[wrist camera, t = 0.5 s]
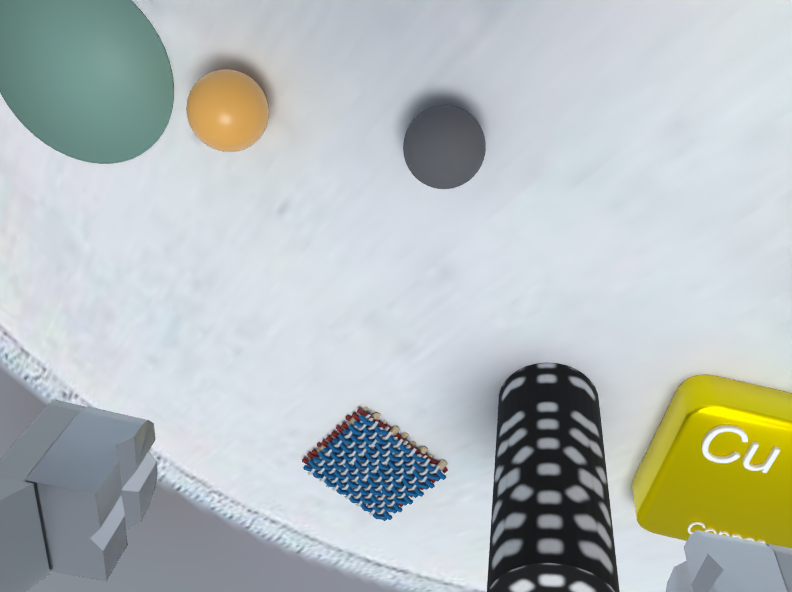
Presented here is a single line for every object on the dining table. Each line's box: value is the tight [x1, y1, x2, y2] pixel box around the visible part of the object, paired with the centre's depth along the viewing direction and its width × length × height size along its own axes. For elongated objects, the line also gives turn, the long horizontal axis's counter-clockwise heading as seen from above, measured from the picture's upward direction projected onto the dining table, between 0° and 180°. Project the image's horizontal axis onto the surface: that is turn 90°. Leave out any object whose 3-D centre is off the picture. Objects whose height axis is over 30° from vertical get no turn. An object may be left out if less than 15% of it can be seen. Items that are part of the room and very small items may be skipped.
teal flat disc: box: [0, 0, 174, 164], centre depth 55 cm, size 14×14×1 cm
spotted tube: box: [487, 363, 619, 592], centre depth 56 cm, size 8×8×20 cm
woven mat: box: [302, 407, 448, 521], centre depth 71 cm, size 10×11×2 cm
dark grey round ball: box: [403, 105, 485, 189], centre depth 51 cm, size 6×6×6 cm
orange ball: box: [186, 69, 269, 152], centre depth 52 cm, size 6×6×6 cm
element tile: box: [632, 375, 792, 548], centre depth 63 cm, size 15×15×5 cm
